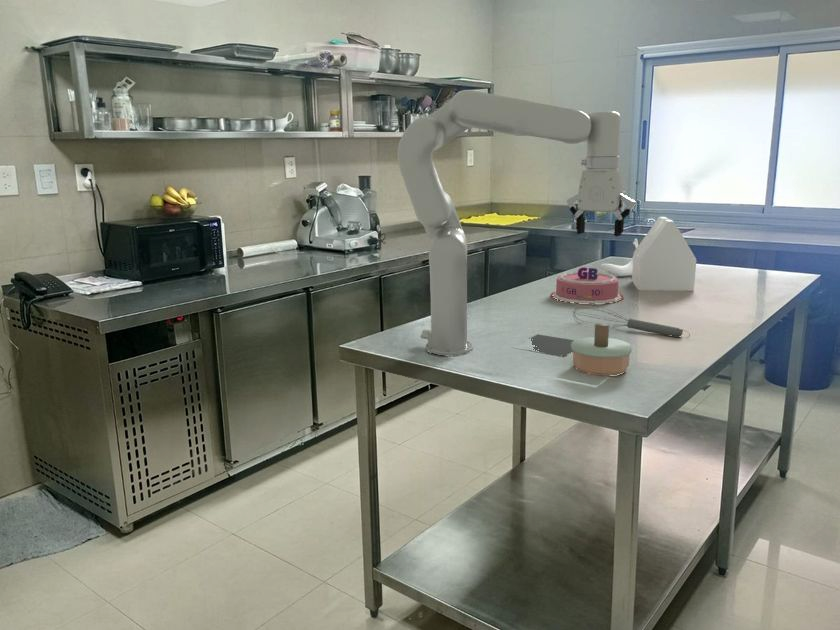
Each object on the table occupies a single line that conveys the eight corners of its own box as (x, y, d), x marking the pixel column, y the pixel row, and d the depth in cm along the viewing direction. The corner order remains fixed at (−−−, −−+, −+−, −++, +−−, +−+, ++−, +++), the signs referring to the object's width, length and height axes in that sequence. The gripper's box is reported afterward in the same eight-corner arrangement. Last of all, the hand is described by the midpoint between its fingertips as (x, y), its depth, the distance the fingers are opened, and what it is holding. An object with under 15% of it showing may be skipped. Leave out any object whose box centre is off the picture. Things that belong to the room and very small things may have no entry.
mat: (511, 348, 177) (511, 347, 177) (537, 335, 188) (537, 334, 188) (564, 358, 168) (564, 357, 168) (587, 343, 180) (587, 342, 180)
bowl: (566, 371, 159) (567, 351, 158) (586, 357, 168) (587, 338, 167) (615, 380, 152) (616, 359, 151) (633, 366, 161) (634, 346, 160)
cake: (542, 302, 229) (542, 271, 226) (560, 287, 251) (561, 260, 248) (616, 308, 218) (618, 276, 216) (628, 292, 240) (630, 263, 238)
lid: (561, 351, 158) (561, 327, 156) (585, 337, 168) (585, 314, 167) (618, 361, 149) (620, 336, 148) (640, 345, 160) (641, 322, 159)
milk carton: (683, 282, 255) (688, 216, 249) (693, 290, 240) (699, 221, 234) (631, 281, 258) (635, 216, 252) (638, 290, 243) (642, 221, 237)
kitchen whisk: (686, 341, 180) (688, 319, 179) (568, 325, 199) (569, 305, 198) (692, 336, 185) (694, 314, 184) (576, 321, 204) (577, 301, 203)
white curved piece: (599, 277, 267) (601, 240, 264) (637, 272, 274) (639, 237, 271) (607, 279, 263) (608, 242, 259) (645, 274, 270) (647, 238, 266)
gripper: (562, 165, 164) (560, 234, 169) (631, 165, 154) (627, 238, 159) (575, 163, 170) (572, 230, 175) (642, 163, 160) (638, 234, 165)
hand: (599, 234), depth 167 cm, fingers open, 9 cm apart
